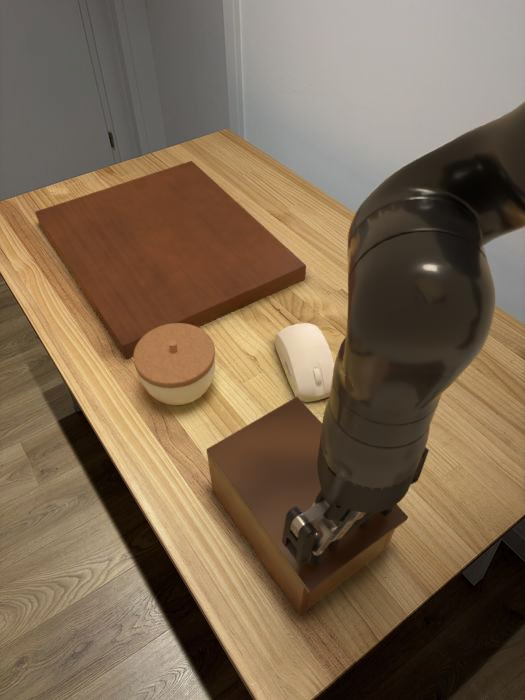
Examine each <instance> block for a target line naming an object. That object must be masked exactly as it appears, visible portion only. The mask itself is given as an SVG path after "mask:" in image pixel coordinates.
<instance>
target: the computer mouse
mask: <svg viewBox="0 0 525 700" xmlns="http://www.w3.org/2000/svg"><path fill="white" fill-rule="evenodd" d="M274 337H275V339H274V345H275V351H276V353H277V355H278V359H279V361H280V363H281V365H282V368H283V371H284V373H285V376H286V378H287V381H288V383H289V385H290V389H291V390H292V392H293V394H294V398H295V397H298V398H299V399H300V400H301V401H302V402H303V403H310V402H317V401H321V400H325V399H327V398H329V397H330V392H331V385H332V378H333V370H334V365H335V360H334V357H333V354H332V352H331V349H330V346H329V344H328V341H327V339H326V337H325V336H324V334H323V332H322V330H321V329H320V328H319V327H318V326H317V325H316V324H312V323H309V322H301V323H295V324H293V325H292V324H291V325H288V326H285V327H284V328H283V329H281V330H280V331H278V332H276V334H275V336H274Z"/></svg>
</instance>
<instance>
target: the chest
mask: <svg viewBox="0 0 525 700" xmlns="http://www.w3.org/2000/svg"><path fill="white" fill-rule="evenodd" d="M206 456H207V463H208V469H209V477H210V483H211V487H212V488H211V490H212V492H213V494H214V496H215V497H216V498H217V499H218V501H219V502H220V504H221V505H222V507H223V508H224V509H225V511H226V513H227V514H228V515H229V517H230V518H231V519H232V521H233V522H234V523H235V525H236V527H237V528H238V530H239V531H240V533H241V534H242V535H243V536H244V538H245V539H246V541H247V542H248V544H249V546H250V547H251V549H253V551H254V553H255V554H256V556H257V557H258V558H259V559H260V561H261V562H262V564H263V565H264V567H265V568H266V570H267V571H268V573H269V574H270V575H271V577H272V578H273V579H274V581H275V582H276V585H278V587H279V588H280V590H281V591H282V593H283V595H285V597H286V598H287V600H288V601H289V602H290V604H291V605H292V607H293V608H294V610H295V611H296V613H297V614H298V615H299V616H302V615H303V614H304V613H306V612H307V611H308V610H309V609H310V608H312V607H313V606H314V605H316V604H317V603H318V602H319V601H321V600H322V599H324V598H325V597H327V596H328V595H329V594H330V593H332V591H334V590H335V589H336V588H338V587H339V586H340V585H342V584H343V583H344V582H346V581H347V580H348V579H349V578H351V577H352V576H353V575H355V574H356V573H357V572H358V571H360V570H361V569H363V568H364V567H365V566H367V565H368V564H369V563H370V562H371V561H373V560H374V559H376V558H377V557H378V556H380V554H382V553H383V552H385V551H386V550H387V549H388V547H389V545H390V543H391V540H392V538H393V535H394V533H395V531H396V529H395V530H393V531H392V532H391V533H389V534H388V535H387V536H385V537H384V538H383V539H381V540H380V541H379V542H377V543H376V544H375V545H374V546H372V547H371V548H370V549H368V550H367V551H366V552H364V553H363V554H362V555H360V556H359V557H358V558H356V559H355V560H354V561H352V562H351V563H350V564H348V565H347V566H346V567H345V568H343V569H342V570H341V571H339V572H338V573H337V574H335V575H334V576H333V577H331V578H330V579H329V580H327V581H326V582H325V583H323V584H322V585H321V586H320V587H318V588H317V589H316V590H314V591H313V592H312V593H310V594H309V593H308V592H307V590H306V589H305V588H304V586H303V585H302V583H301V582H300V581H299V579H298V578H297V577H296V575H295V574H294V572H293V571H292V570H291V568H290V567H289V566H288V564H287V563H286V561H285V560H284V559H283V557H282V556H281V554H280V553H279V552H278V550H277V549H276V548H275V546H274V545H273V543H272V542H271V541H270V539H269V538H268V537H267V535H266V534H265V532H264V531H263V530H262V528H261V527H260V526H259V524H258V523H257V521H256V520H255V519H254V517H253V516H252V515H251V513H250V512H249V510H248V509H247V508H246V506H245V505H244V503H243V502H242V501H241V499H240V498H239V497H238V495H237V494H236V492H235V491H234V490H233V488H232V487H231V486H230V484H229V483H228V481H227V480H226V479H225V477H224V476H223V475H222V473H221V472H220V470H219V469H218V468H217V466H216V465H215V464H214V462H213V461H212V459H211V458H210V457H209V455H208V454H207V453H206Z"/></svg>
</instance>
